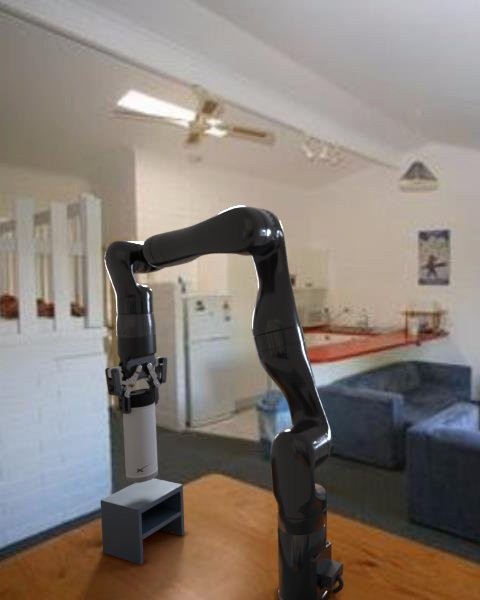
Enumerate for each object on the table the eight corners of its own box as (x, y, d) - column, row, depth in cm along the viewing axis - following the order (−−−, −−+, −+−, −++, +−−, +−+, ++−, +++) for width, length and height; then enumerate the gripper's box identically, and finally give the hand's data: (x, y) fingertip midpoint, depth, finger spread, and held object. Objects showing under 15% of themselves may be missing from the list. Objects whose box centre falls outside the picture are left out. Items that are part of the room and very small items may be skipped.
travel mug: (145, 484, 103) (141, 393, 101) (119, 481, 104) (114, 392, 102) (165, 472, 109) (162, 386, 107) (140, 469, 110) (136, 384, 108)
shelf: (184, 534, 111) (182, 484, 110) (140, 564, 100) (138, 509, 99) (149, 524, 115) (147, 476, 114) (102, 553, 104) (100, 500, 103)
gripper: (119, 339, 96) (123, 420, 97) (176, 329, 109) (178, 401, 110) (92, 337, 98) (96, 416, 100) (151, 328, 112) (154, 398, 113)
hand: (139, 408), depth 105 cm, fingers closed on travel mug, 6 cm apart
